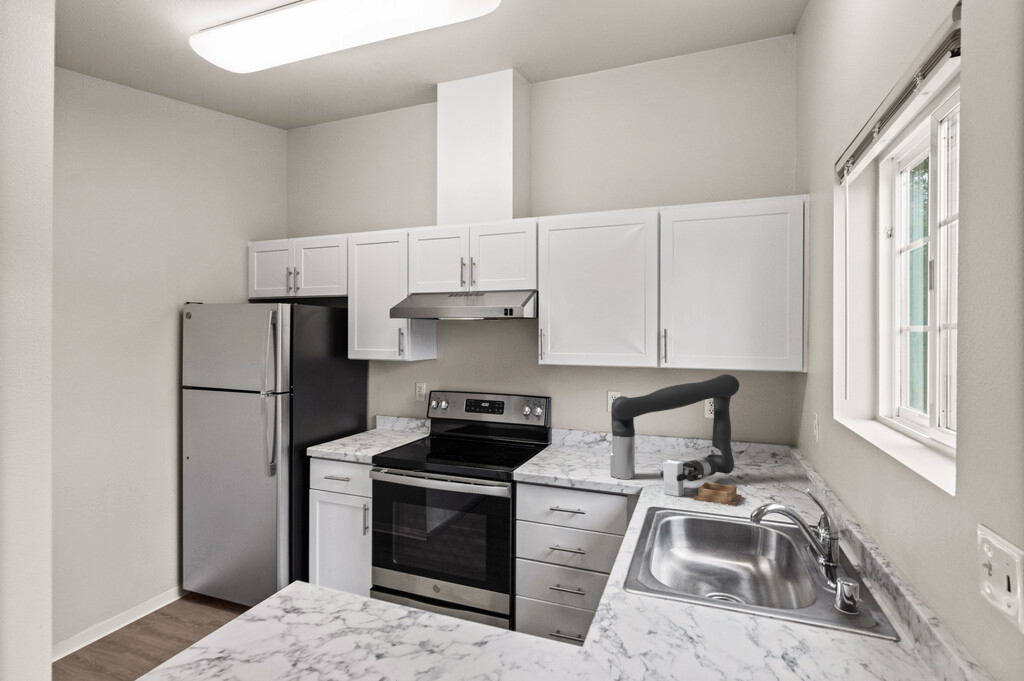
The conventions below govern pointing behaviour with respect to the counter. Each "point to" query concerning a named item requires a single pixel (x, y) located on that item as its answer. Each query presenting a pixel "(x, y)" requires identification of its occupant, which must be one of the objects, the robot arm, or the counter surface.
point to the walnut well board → (718, 494)
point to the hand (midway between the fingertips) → (669, 476)
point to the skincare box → (672, 478)
